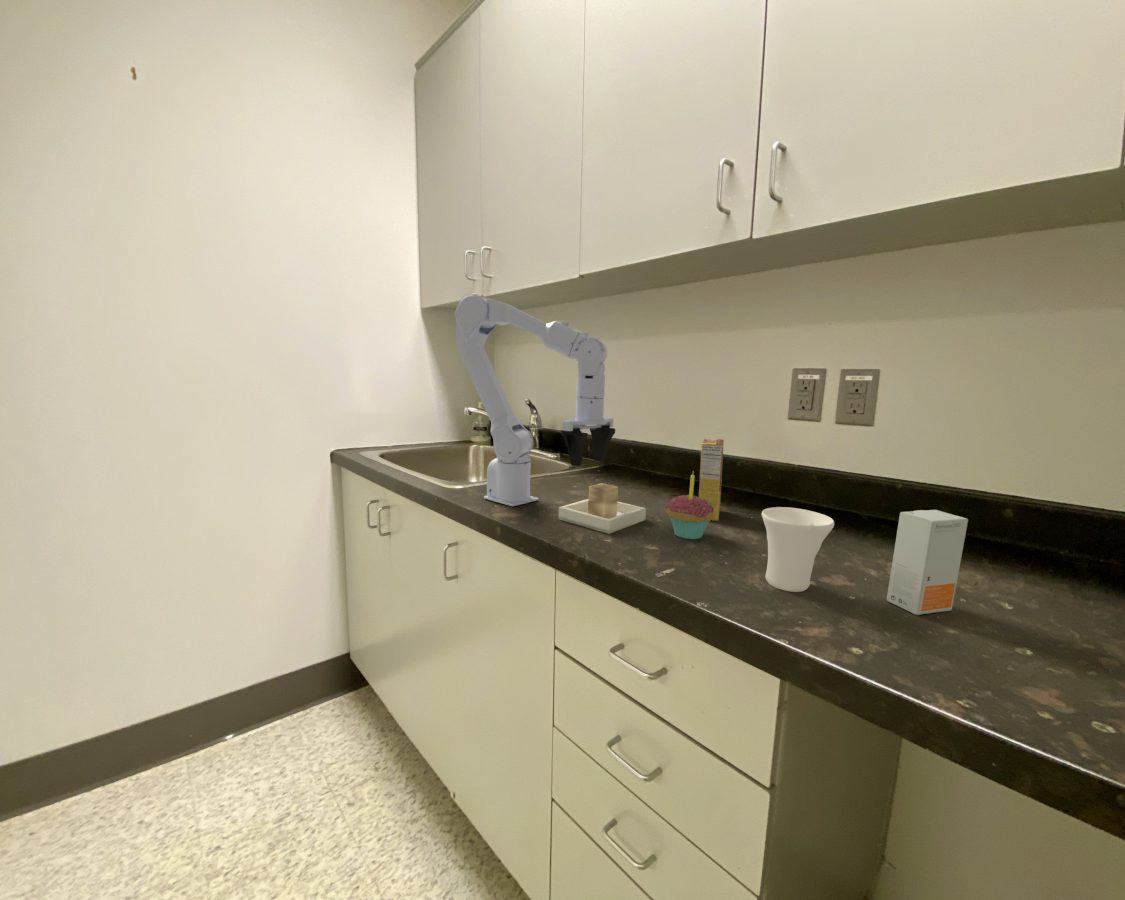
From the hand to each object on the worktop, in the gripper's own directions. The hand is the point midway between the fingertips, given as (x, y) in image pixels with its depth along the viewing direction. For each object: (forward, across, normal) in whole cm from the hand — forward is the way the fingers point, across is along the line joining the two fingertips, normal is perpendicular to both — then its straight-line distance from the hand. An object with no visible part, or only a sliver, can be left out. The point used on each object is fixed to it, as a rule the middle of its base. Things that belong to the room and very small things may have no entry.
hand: (587, 463), depth 101 cm
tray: (+9, -5, -8) cm, 13 cm away
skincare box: (+10, -5, -58) cm, 59 cm away
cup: (+10, -10, -44) cm, 46 cm away
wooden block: (+9, -5, -8) cm, 13 cm away
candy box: (+10, +14, -21) cm, 27 cm away
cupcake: (+10, -1, -24) cm, 26 cm away
